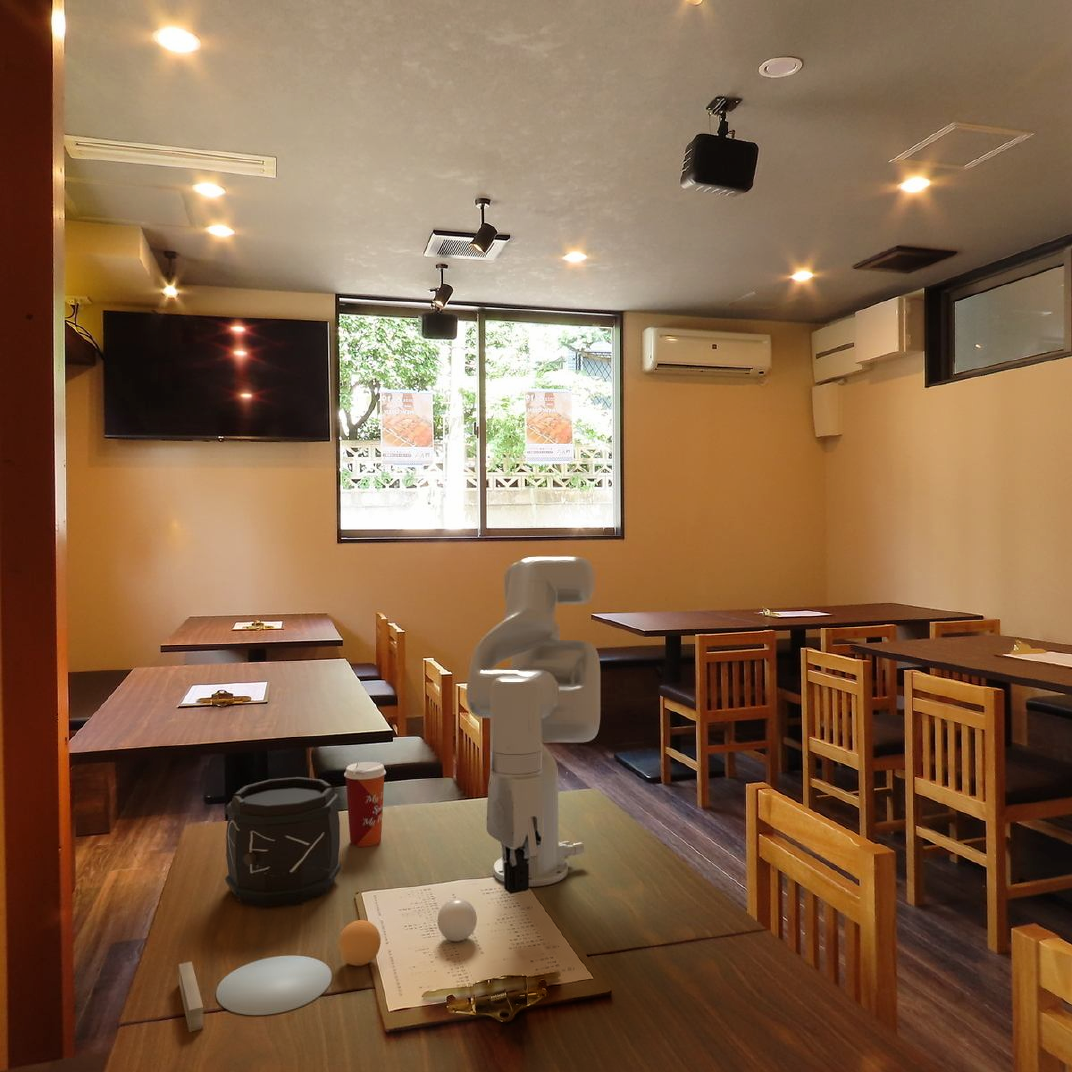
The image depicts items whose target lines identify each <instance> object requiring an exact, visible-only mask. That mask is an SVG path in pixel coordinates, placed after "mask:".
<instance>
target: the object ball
mask: <svg viewBox="0 0 1072 1072" xmlns="http://www.w3.org/2000/svg"><path fill="white" fill-rule="evenodd" d="M381 938H382V937H381V933H380V931H379V930H378V928H377V927H376V925H375V924H373V923H372V922H371V921H368V920H365V919H364V920H363V919H359V920H355V921H352V922H350V923H349V924H347V925H346V926H345V927H344V929H342V931H341V934H340V935H339V939H338V951H339V953H340V956H341V958H342V959H343V961H344V962H346V963H347V964H349V965H351V966H354V967H355V966H356V967H359V966H360V967H362V966H365V965H367V964H369V963H371V962H372V961H373V960H374V959H375V958H376V956H377V955H378V953H379V951H380V948H381V944H382V943H381Z"/></svg>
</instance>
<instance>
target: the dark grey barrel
mask: <svg viewBox="0 0 1072 1072" xmlns="http://www.w3.org/2000/svg"><path fill="white" fill-rule="evenodd" d="M232 796H233V797H232V800H231V801H230V802H229V803H227V804H226V805H225V809H224V813H226V815H227V824H226V831H225V835H226V836H225V841H226V842H225V843H226V846H225V847H226V849H225V850H226V855H225V856H226V862H227V863H226V865H227V870H228V871H227V872H228V875H227V876H226V877H225V878H224V879H225V883H226V885H227V887H229V888H230V890H231V891H232V894H233V895H234V897H235V898H236V897H237V898H236V899H237V900H238V902H239V903H240V904H241V905H246V906H250V905H251V906H250V907H257V908H263V909H273V908H274V909H275V908H282V907H291V906H299V905H303V904H305V903H308V902H309V901H312V900H314V899H317V898H319V897H322V896H324V895H326V894H327V893H328V891H329V890H330V888H331V887H332V885H333V884H334V883H335V881H336V880H335V879H336V877H337V875H338V874H339V873H340V871H341V867H342V865H341V864H340V863H339V855H340V854H339V853H340V845H341V837H340V836H341V828H340V826H341V825H340V823H341V821H340V816H339V815H340V813H339V807H338V805H339V803H340V802H341V798H340V795H338V794H337V793H336V792H335V790H334V787H333V785H331V784H330V783H328V782H327V781H325V780H323V779H319V778H312V777H311V778H310V777H302V776H301V777H300V776H295V777H285V778H281V777H280V778H273V779H272V778H271V779H270V778H269V779H267V780H263V781H257V782H255V783H251V784H248V785H244V786H243V787H242V788H240V789H239V790H237V791H236V792H235V793H234V794H233V795H232Z"/></svg>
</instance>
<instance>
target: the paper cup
mask: <svg viewBox="0 0 1072 1072" xmlns="http://www.w3.org/2000/svg"><path fill="white" fill-rule="evenodd" d="M386 774H387V771H386V770H385V766H384V764H383V763H381V762H376V761H362V762H361V761H360V762H355V763H352V764H349V765H347V767H346V769H345V772H344V774H343V776H344V777H345V782H346V783H345V784H346V797H347V798H346V800H347V813H348V830H349V840H350V842H349V843H350V844H351V846H353V847H357V848H358V847H359V848H367V847H372V846H376V845H378V844H380V843H381V839H382V829H383V813H384V812H383V809H384V791H385V790H384V787H385V775H386Z"/></svg>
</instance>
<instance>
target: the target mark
mask: <svg viewBox="0 0 1072 1072" xmlns="http://www.w3.org/2000/svg"><path fill="white" fill-rule="evenodd" d="M332 974H333V973H332V971H331V969H330V967H329V966H328V965H327V964H326V963H325V962H323V961H321V960H319V959H317V958H313V957H309V956H302V955H279V956H272V957H266V958H261V959H258V960H254V961H252V962H250V963H249V962H248V963H247V964H245V965H243V966H240V967H239V968H236V969H235V970H233V971H231V972H230V973H228V974H227V975H226V976H225V977H224V978H223V979H222V980H221V981H220V982H219V984H218V986H217V988H216V993H215V997H216V1000H217V1003H219V1005H220V1006H221V1007H222V1008H224V1009H225V1010H227V1011H229V1012H232V1013H236V1014H240V1015H246V1016H267V1015H268V1016H269V1015H274V1014H281V1013H285V1012H289V1011H292V1010H295V1009H298V1008H301V1007H303V1006H305V1005H307V1004H309V1003H311V1002H313V1001H315V1000H316V999H317V998H319V997H320V996H322V994H324V993H325V992H326V991H327V990H328V989H329V986H331V983H332V979H333V977H332Z"/></svg>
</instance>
